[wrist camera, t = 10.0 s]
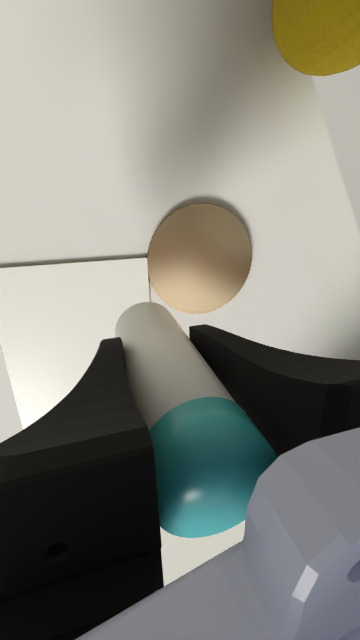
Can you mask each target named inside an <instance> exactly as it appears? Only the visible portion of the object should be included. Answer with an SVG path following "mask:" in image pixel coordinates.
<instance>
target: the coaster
mask: <svg viewBox="0 0 360 640" xmlns="http://www.w3.org/2000/svg"><path fill="white" fill-rule="evenodd" d="M251 261H252V247H251V242H250V238H249V235H248V232H247V230H246V228H245V226H244V225H243V223H242V222H241V221H240V220H239V219H238V218H237V217H236V215H234V214H233V213H232V212H230V211H229V210H227V209H225V208H223V207H220V206H217V205H212V204H193V205H189V206H186V207H183V208H181V209H179V210H177V211H175V212H174V213H172V214H171V215H170V216H168V217H167V218H166V219H165V220H164V221H163V222H162V223H161V225H160V226H159V227H158V229H157V230H156V232H155V234H154V235H153V237H152V240H151V242H150V246H149V249H148V255H147V263H148V275H149V279H150V281H151V284H152V286H153V288H154V289H155V291H156V293H157V294H158V295H159V296H160V298H161V299H162V300H163V301H164V302H165V303H166V304H168V305H169V306H170V307H172V308H174V309H176V310H178V311H181V312H185V313H190V314H201V313H207V312H210V311H214V310H216V309H218V308H220V307H222V306H223V305H225V304H227V303H228V302H229V301H230V300H232V299H233V298H234V297H235V296H236V294H237V293H238V292H239V291H240V289H241V288H242V286H243V285H244V283H245V281H246V279H247V277H248V274H249V271H250V267H251Z"/></svg>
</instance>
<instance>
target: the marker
mask: <svg viewBox="0 0 360 640" xmlns="http://www.w3.org/2000/svg"><path fill="white" fill-rule="evenodd" d="M115 337H120V338H121V340H122V342H123V350H124V359H125V369H126V378H127V382H128V385H129V388H130V390H131V393H132V396H133V399H134V401H135V403H136V406H137V408H138V410H139V412H140V414H141V416H142V418H143V420H144V422H145V423H146V425H147V427H148V430H149V434H150V437H151V441H152V444H153V449H154V459H155V472H156V484H157V497H158V509H159V522H160V526H161V527H162V528H163V529H164V530H165V531H167V532H169V533H171V534H173V535H176V536H180V537H186V538H197V537H205V536H210V535H214V534H217V533H220V532H223V531H225V530H227V529H230V528H232V527H234V526H235V525H237V524H239V523H240V522H242V521H243V520H245V519H246V509H247V506H248V504H249V501H250V498H251V496H252V493H253V491H254V488H255V486H256V483H257V480H258V478H259V477H260V476H261V475H262V474H263V472H264V471H265V470H266V469H267V468H268V467H269V466H270V465H271V464H272V463H273V462H274V461H275V460H276V459H277V456H276V454H275V452H274V450H273V449H272V447H271V446H270V445H269V443H268V442H267V441H266V439H265V438H264V437H263V435H262V434H261V433H260V431H259V430H258V428H257V427H256V426H255V424H254V423H253V422H252V420H251V419H250V418H249V416H248V415H247V414H246V412H245V411H244V410H243V409H242V408H241V407H240V406H239V405H238V404H236V402H235V401H234V399H233V398H232V397H231V395H230V394H229V393H228V391H227V390H226V388H225V387H224V386H223V384H222V383H221V382H220V380H219V379H218V378H217V376H216V375H215V373H214V372H213V371H212V369H211V368H210V367H209V365H208V364H207V362H206V361H205V360H204V358H203V357H202V356H201V354H200V353H199V352H198V350H197V349H196V347H195V346H194V345H193V343H192V342H191V341H190V339H189V338H188V336H187V335H186V334H185V332H184V331H183V330H182V328H181V327H180V325H179V324H178V323H177V321H176V320H175V319H174V317H173V316H172V315H171V313H170V312H169V311H168V310H167V309H166V308H165V307H163V306H162V305H160V304H157V303H153V302H142V303H138V304H135V305H133V306H131V307H129V308H128V309H126V310H125V311H124V312H123V313H122V314H121V316H120V317H119V319H118V321H117V323H116V327H115Z"/></svg>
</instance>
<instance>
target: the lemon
mask: <svg viewBox="0 0 360 640" xmlns="http://www.w3.org/2000/svg"><path fill="white" fill-rule="evenodd" d="M272 27H273V34H274V38H275V41H276V44H277V47H278V50H279V51H280V53H281V55H282V57H283V58H284V60H285V61H286V62H287V63H288V64H289V65H290V66H291V67H292V68H294V69H295V70H297V71H299V72H301V73H303V74H307V75H314V76H327V75H332V74H336V73H340V72H344V71H347V70H349V69H351V68H354V67H356V66H358V65H359V64H360V0H273V5H272Z"/></svg>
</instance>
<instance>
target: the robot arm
mask: <svg viewBox="0 0 360 640" xmlns="http://www.w3.org/2000/svg"><path fill="white" fill-rule="evenodd" d="M189 331H190V341H191V342H192V343H193V345H194V346H195V347H196V349H197V350H198V352H199V353H200V354H201V356H202V357H203V358H204V360H205V361H206V362H207V364H208V365H209V367H210V368H211V369H212V371H213V372H214V373H215V375H216V376H217V378H218V379H219V380H220V382H221V383H222V384H223V386H224V387H225V388H226V390H227V391H228V393H229V394H230V395H231V397H232V398H233V399H234V401H235V402H236V404H238V405H239V406H240V407H241V408H242V409H243V410H244V411H245V412H246V414H247V415H248V416H249V418H250V419H251V420H252V422H253V423H254V424H255V426H256V427H257V428H258V430H259V431H260V433H261V434H262V435H263V437H264V438H265V439H266V441H267V442H268V443H269V445H270V446H271V447H272V449H273V450H274V452H275V454H276V456H277V459H276V460H275V461H274V462H273V463H272V464H271V465H270V466H269V467H268V468H267V469H266V470H265V471H264V472H263V474H262V475H261V476H260V477H259V478H258V480H257V483H256V486H255V488H254V491H253V493H252V496H251V498H250V501H249V504H248V506H247V509H246V522H245V534H244V538H243V541H241V542H239V543H238V544H236V545H234V546H232V547H231V548H229V549H227V550H225V551H224V552H222V553H220V554H219V555H217V556H215V557H214V558H212V559H210V560H209V561H207V562H205V563H203V564H202V565H200V566H198V567H197V568H195V569H193V570H192V571H190V572H188V573H187V574H185V575H183V576H181V577H180V578H178V579H176V580H175V581H173V582H171V583H170V584H168V585H166V586H165V587H164V584H163V571H162V559H161V534H160V522H159V509H158V497H157V484H156V472H155V459H154V449H153V444H152V441H151V437H150V434H149V430H148V427H147V425H146V423H145V422H144V420H143V418H142V416H141V414H140V412H139V410H138V408H137V406H136V403H135V401H134V399H133V396H132V393H131V390H130V388H129V385H128V382H127V378H126V369H125V359H124V350H123V342H122V340H121V338H120V337H116V338H109V339H103V340H102V341H101V342H100V345H99V348H98V350H97V352H96V355H95V357H94V358H93V360H92V362H91V364H90V366H89V367H88V369H87V370H86V372H85V373H84V375H83V376H82V378H81V379H80V380H79V382H78V383H77V384H76V386H75V387H74V388H73V389H72V390H71V391H70V393H69V394H68V395H67V396H66V397H65V398H63V399H62V400H61V401H60V402H59V403H58V404H57V405H56V406H54V407H53V408H52V409H51V410H50V411H49V412H47V413H46V414H45V415H44V416H42V417H41V418H40V419H38V420H37V421H35V422H34V423H32V424H31V425H30V426H28V427H27V428H25V429H24V430H22V431H20V432H19V433H17V434H16V435H14V436H12V437H10V438H9V439H7V440H5V441H3V442H2V443H0V640H360V361H359V360H345V359H334V358H325V357H318V356H311V355H305V354H299V353H294V352H290V351H286V350H281V349H277V348H273V347H270V346H266V345H263V344H260V343H257V342H254V341H251V340H248V339H245V338H242V337H240V336H237V335H234V334H232V333H229V332H226V331H224V330H221V329H219V328H216V327H213V326H209V325H205V324H204V325H197V326H191V327H189Z"/></svg>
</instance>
